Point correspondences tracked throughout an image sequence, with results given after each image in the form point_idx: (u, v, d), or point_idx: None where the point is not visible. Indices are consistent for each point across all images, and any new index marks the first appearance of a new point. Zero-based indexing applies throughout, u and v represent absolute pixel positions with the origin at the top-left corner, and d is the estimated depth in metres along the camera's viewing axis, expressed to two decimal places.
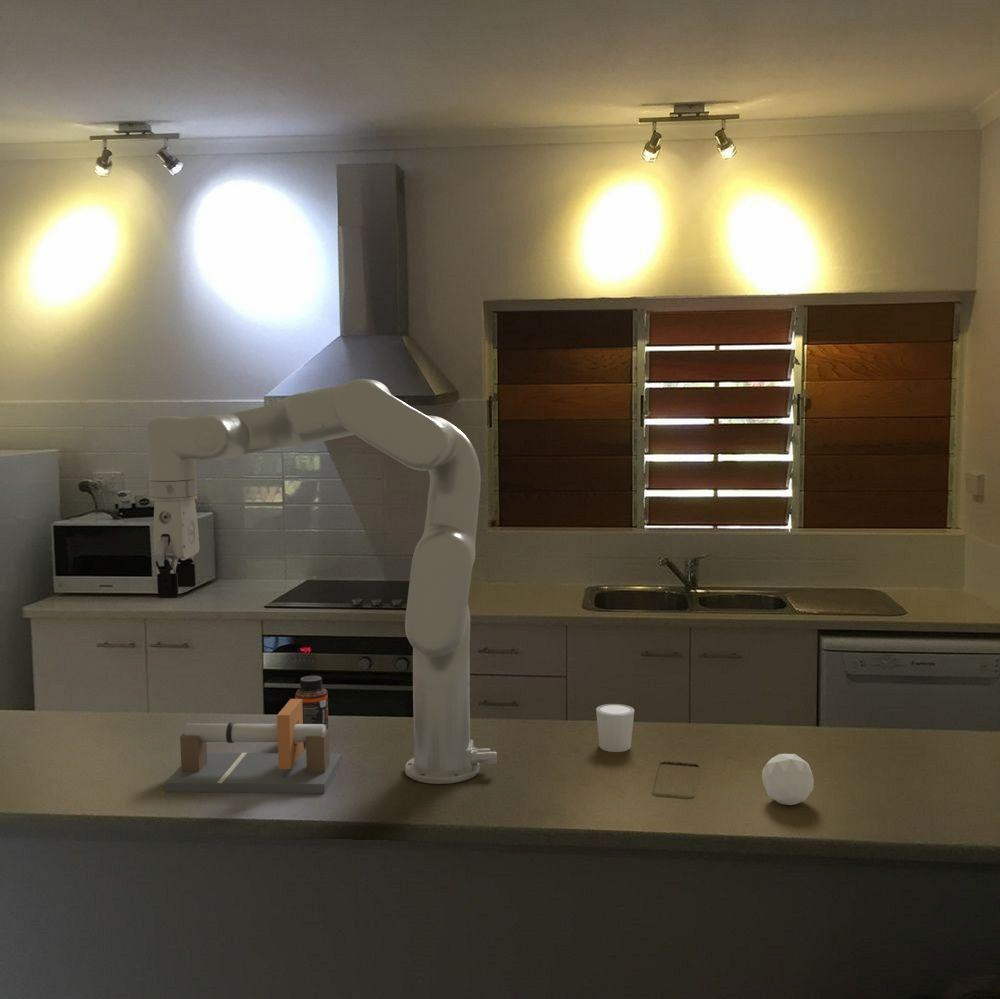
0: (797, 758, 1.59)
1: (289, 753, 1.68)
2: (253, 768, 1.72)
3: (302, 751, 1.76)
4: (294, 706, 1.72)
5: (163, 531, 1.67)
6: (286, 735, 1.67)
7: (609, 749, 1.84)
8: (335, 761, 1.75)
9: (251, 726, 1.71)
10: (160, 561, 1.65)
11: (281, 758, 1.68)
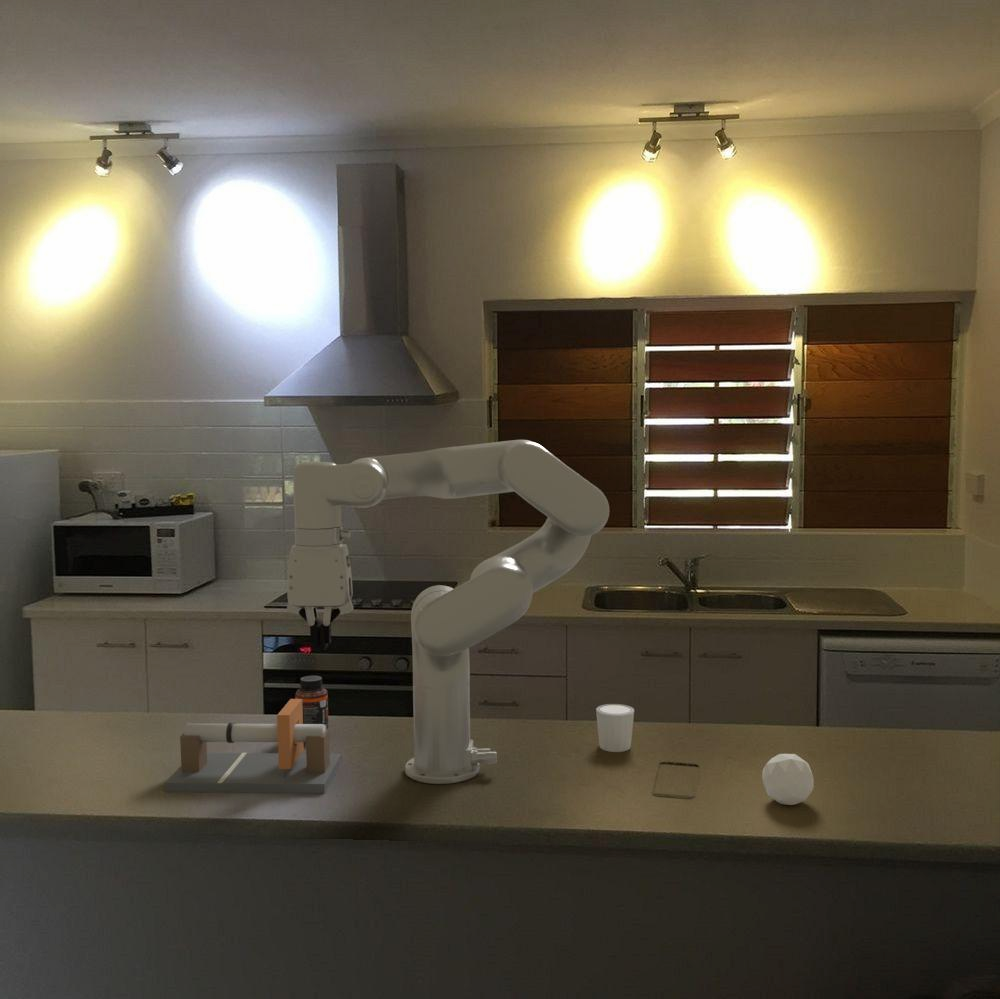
0: (797, 758, 1.59)
1: (289, 753, 1.68)
2: (253, 768, 1.72)
3: (302, 751, 1.76)
4: (294, 706, 1.72)
5: (349, 575, 1.68)
6: (286, 735, 1.67)
7: (609, 749, 1.84)
8: (335, 761, 1.75)
9: (251, 726, 1.71)
10: (342, 613, 1.69)
11: (281, 758, 1.68)
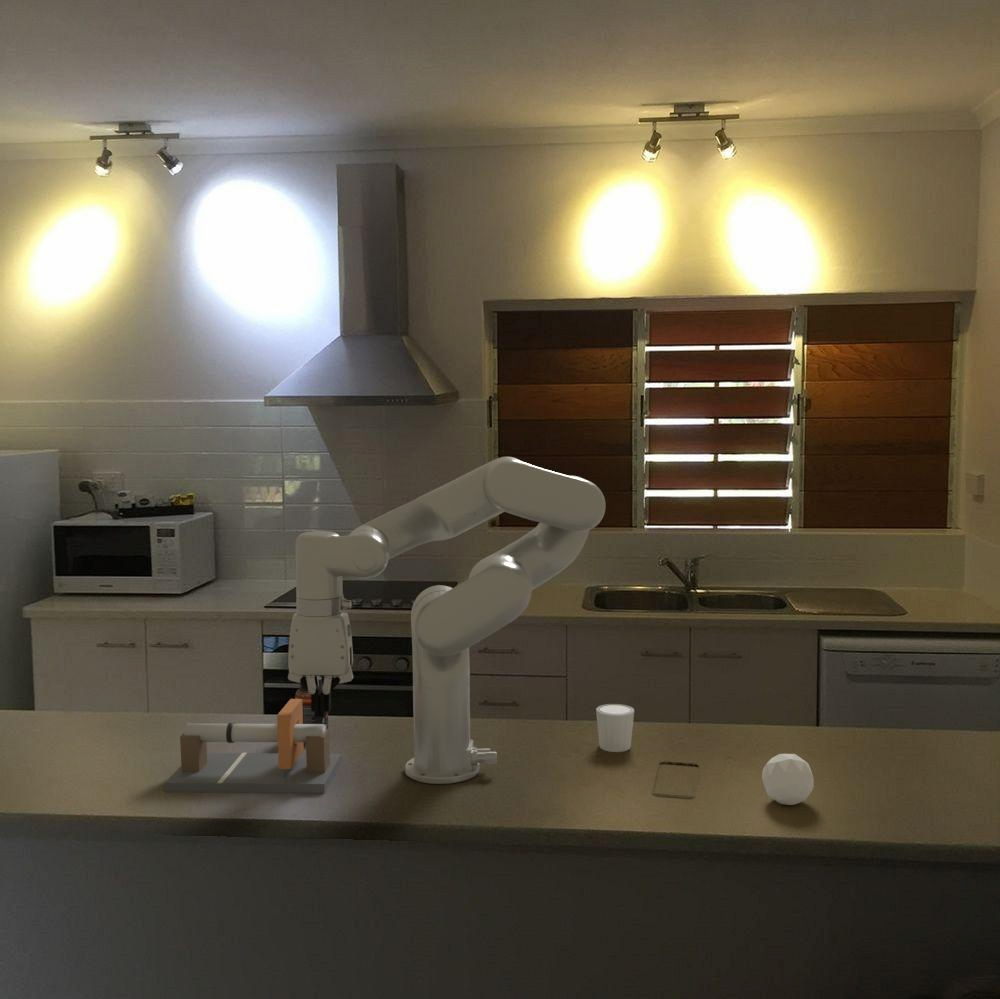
0: (797, 758, 1.59)
1: (289, 753, 1.68)
2: (253, 768, 1.72)
3: (302, 751, 1.76)
4: (294, 706, 1.72)
5: (350, 644, 1.70)
6: (286, 735, 1.67)
7: (609, 749, 1.84)
8: (335, 761, 1.75)
9: (251, 726, 1.71)
10: None
11: (281, 758, 1.68)
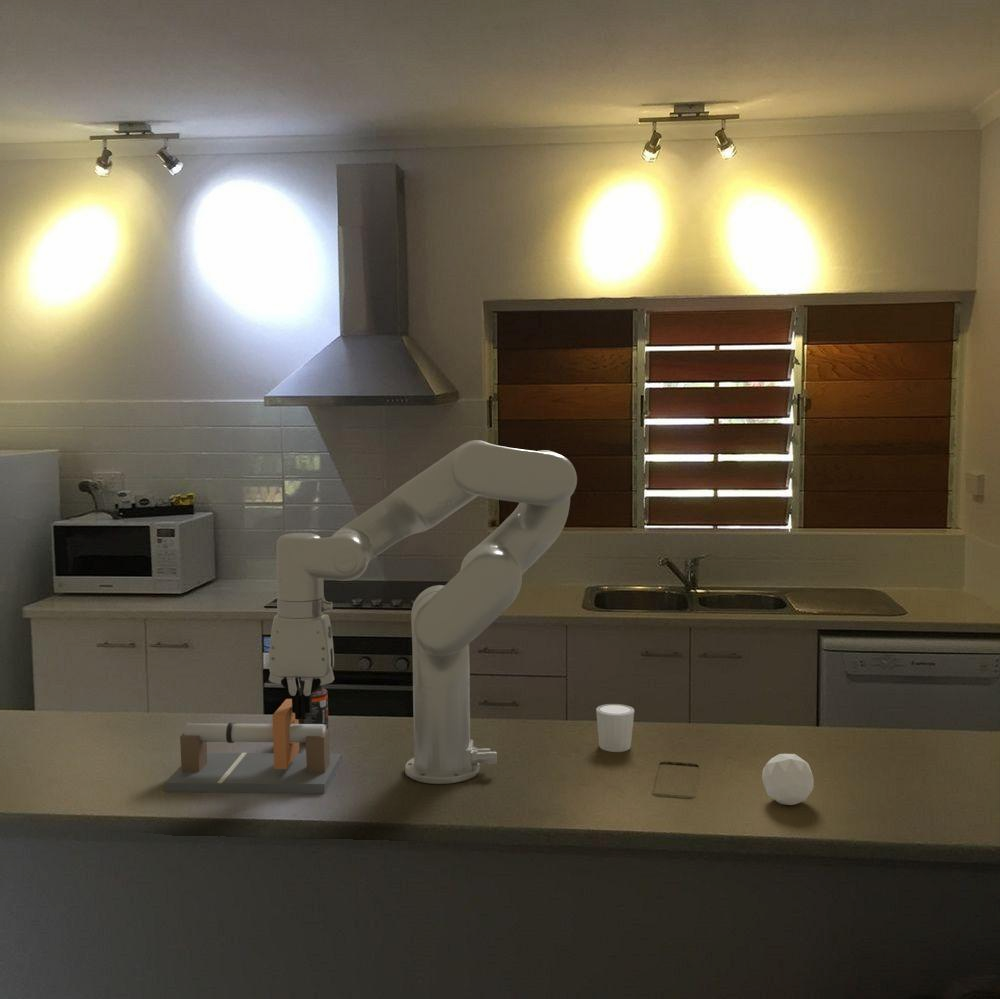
0: (797, 758, 1.59)
1: (284, 753, 1.68)
2: (253, 768, 1.72)
3: None
4: (290, 706, 1.72)
5: (330, 646, 1.70)
6: (282, 735, 1.67)
7: (609, 749, 1.84)
8: (335, 761, 1.75)
9: (251, 726, 1.71)
10: None
11: (277, 758, 1.68)
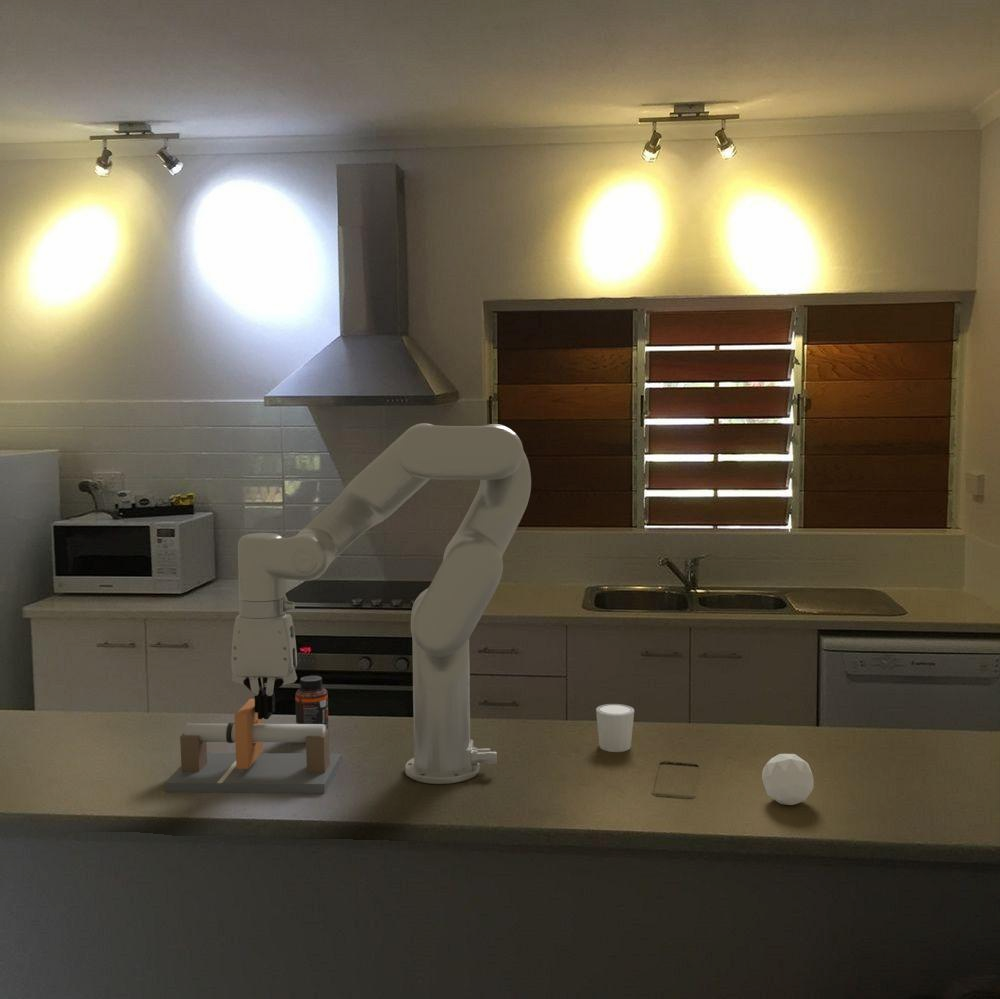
0: (797, 758, 1.59)
1: (247, 753, 1.68)
2: (253, 768, 1.72)
3: None
4: (253, 706, 1.72)
5: (293, 646, 1.70)
6: (244, 735, 1.68)
7: (609, 749, 1.84)
8: (335, 761, 1.75)
9: None
10: None
11: (239, 757, 1.68)
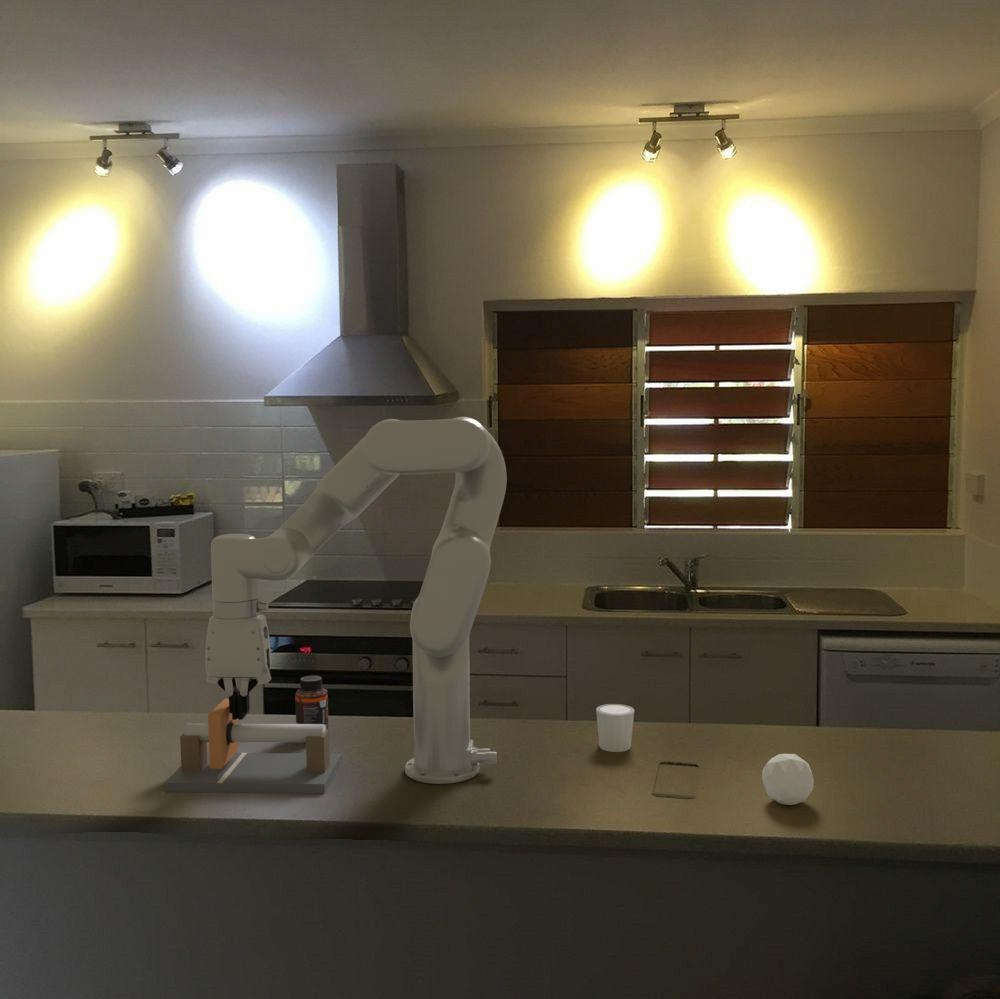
0: (797, 758, 1.59)
1: (220, 753, 1.68)
2: (253, 768, 1.72)
3: (236, 751, 1.76)
4: (227, 706, 1.72)
5: (266, 646, 1.70)
6: (217, 735, 1.68)
7: (609, 749, 1.84)
8: (335, 761, 1.75)
9: (251, 726, 1.71)
10: None
11: (213, 757, 1.68)
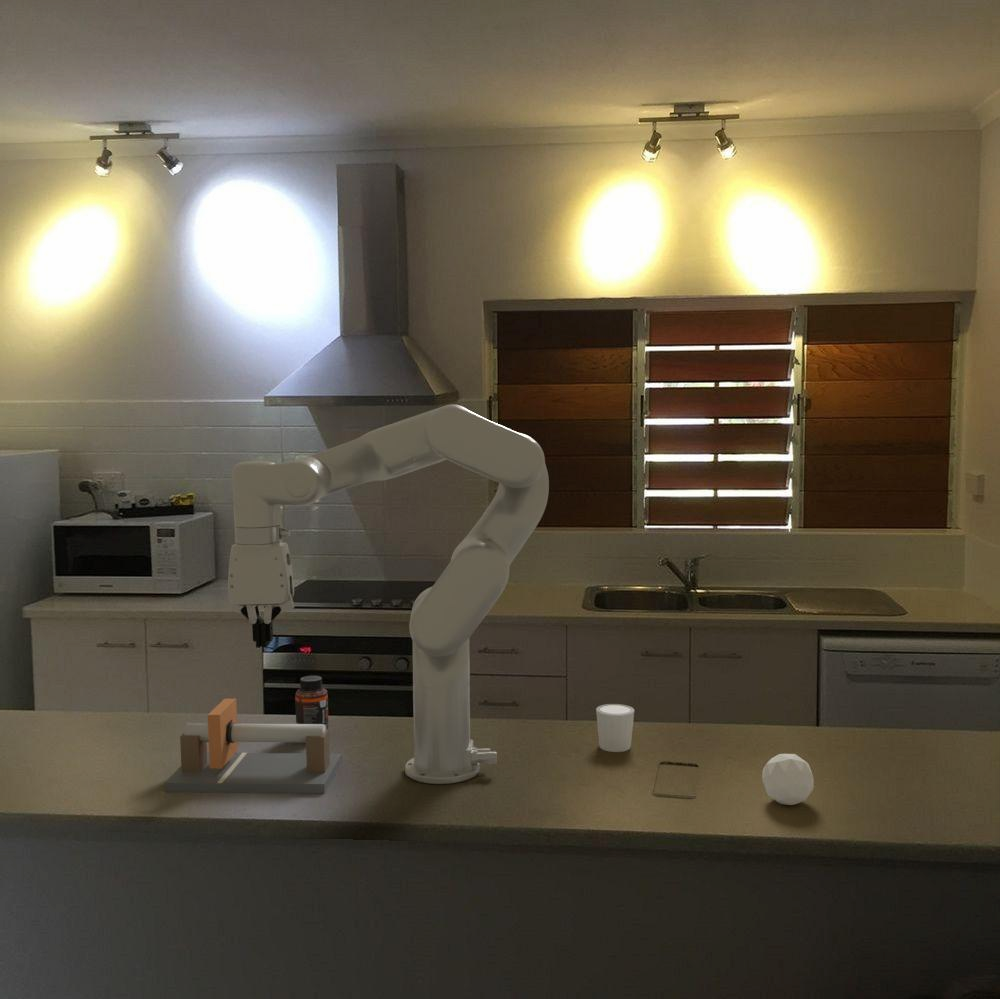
0: (797, 758, 1.59)
1: (220, 753, 1.68)
2: (253, 768, 1.72)
3: (236, 751, 1.76)
4: (226, 706, 1.72)
5: (289, 573, 1.70)
6: (217, 735, 1.68)
7: (609, 749, 1.84)
8: (335, 761, 1.75)
9: (251, 726, 1.71)
10: (282, 611, 1.71)
11: (212, 757, 1.68)
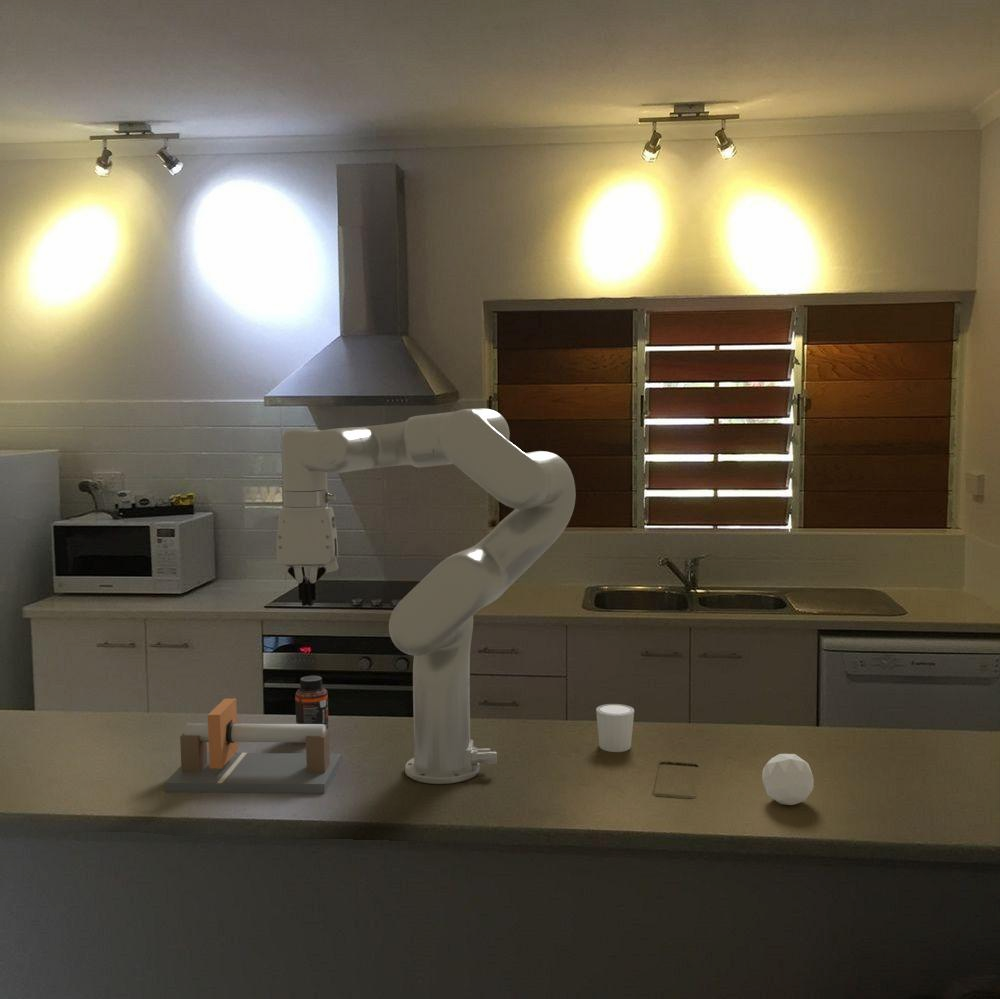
0: (797, 758, 1.59)
1: (220, 753, 1.68)
2: (253, 768, 1.72)
3: (236, 751, 1.76)
4: (226, 706, 1.72)
5: (334, 535, 1.79)
6: (217, 735, 1.68)
7: (609, 749, 1.84)
8: (335, 761, 1.75)
9: (251, 726, 1.71)
10: None
11: (212, 757, 1.68)
